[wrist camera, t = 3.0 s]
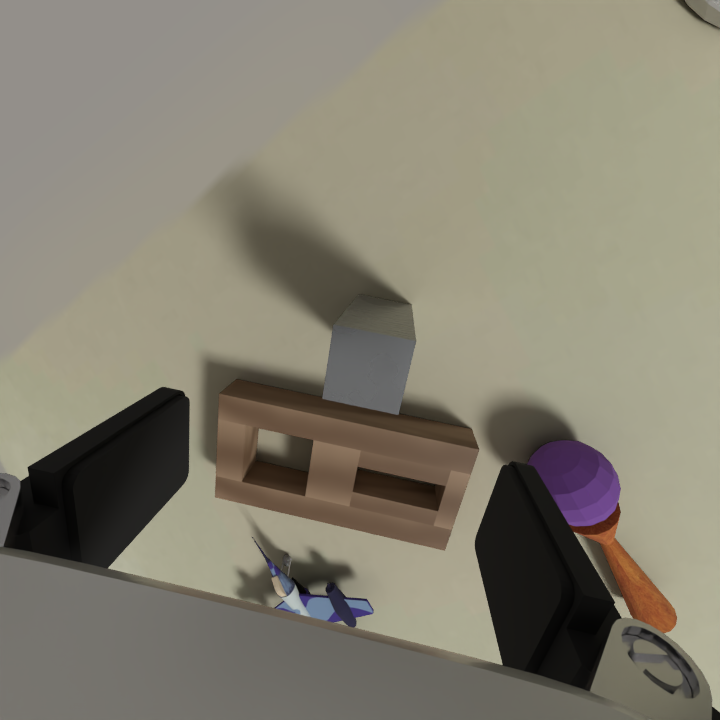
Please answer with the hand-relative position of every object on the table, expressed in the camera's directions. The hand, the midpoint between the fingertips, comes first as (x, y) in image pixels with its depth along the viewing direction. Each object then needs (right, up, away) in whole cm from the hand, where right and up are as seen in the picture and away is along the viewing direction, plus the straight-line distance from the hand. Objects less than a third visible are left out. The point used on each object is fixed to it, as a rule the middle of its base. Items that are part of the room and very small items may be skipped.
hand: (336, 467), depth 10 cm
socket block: (-1, -5, +20) cm, 21 cm away
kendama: (+21, -10, +20) cm, 31 cm away
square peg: (+2, +6, +16) cm, 18 cm away
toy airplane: (-5, -20, +26) cm, 34 cm away
